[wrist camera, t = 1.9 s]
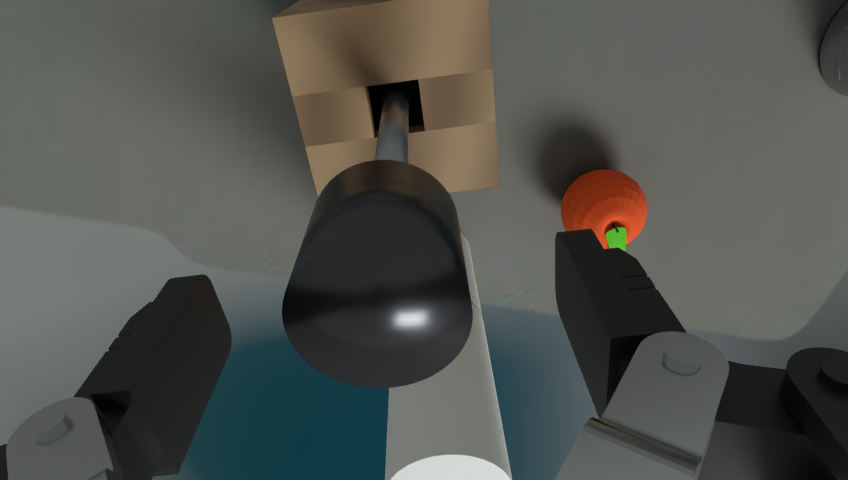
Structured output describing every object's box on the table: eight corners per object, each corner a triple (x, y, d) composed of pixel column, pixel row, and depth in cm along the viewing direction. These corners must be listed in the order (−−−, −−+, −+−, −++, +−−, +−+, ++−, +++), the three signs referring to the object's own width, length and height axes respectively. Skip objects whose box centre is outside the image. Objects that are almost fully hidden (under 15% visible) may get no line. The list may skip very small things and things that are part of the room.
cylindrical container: (400, 288, 52) (392, 538, 31) (391, 225, 49) (375, 460, 27) (471, 281, 52) (514, 529, 31) (468, 218, 49) (513, 449, 27)
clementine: (634, 223, 49) (666, 265, 43) (561, 243, 50) (582, 287, 44) (625, 146, 45) (658, 180, 39) (545, 169, 46) (566, 206, 40)
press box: (473, -66, 37) (523, -61, 21) (485, 102, 43) (530, 209, 27) (305, -41, 38) (225, -17, 21) (340, 121, 44) (299, 237, 27)
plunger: (451, -7, 30) (541, 141, 9) (462, 114, 33) (546, 415, 13) (329, 11, 30) (153, 192, 10) (353, 128, 34) (262, 445, 13)
